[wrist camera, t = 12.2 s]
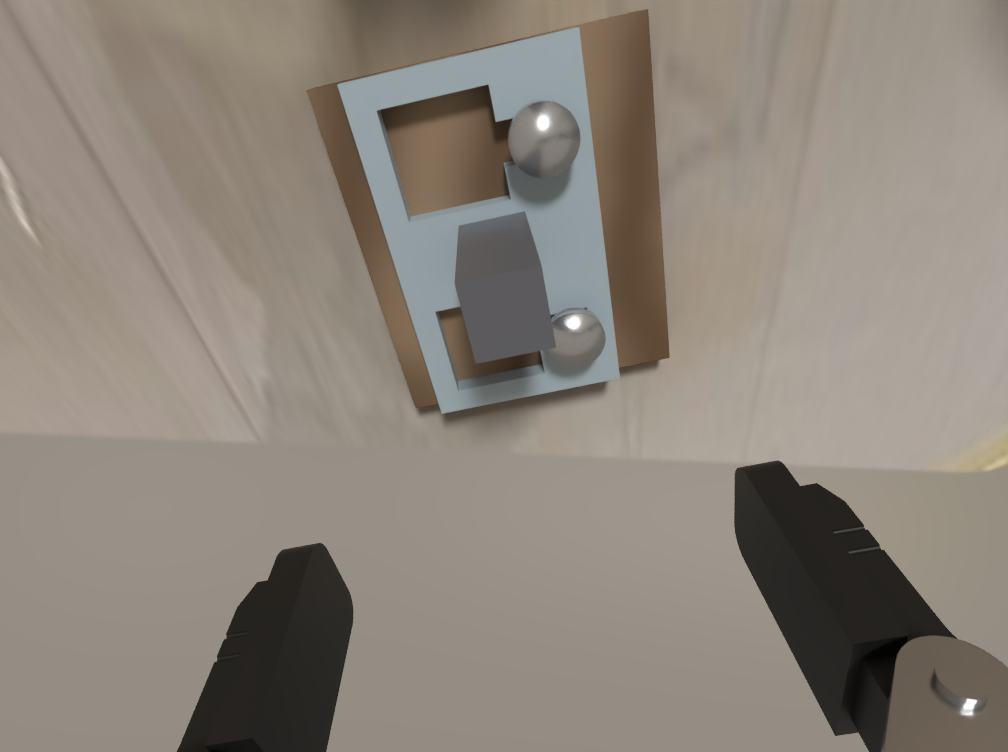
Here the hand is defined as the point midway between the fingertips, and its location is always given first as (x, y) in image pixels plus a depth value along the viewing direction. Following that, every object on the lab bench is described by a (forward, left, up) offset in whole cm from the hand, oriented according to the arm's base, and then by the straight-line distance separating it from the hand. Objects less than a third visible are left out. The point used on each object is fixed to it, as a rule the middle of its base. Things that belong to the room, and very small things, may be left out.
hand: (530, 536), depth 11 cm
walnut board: (-1, 0, -20) cm, 20 cm away
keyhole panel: (0, 0, -18) cm, 18 cm away
